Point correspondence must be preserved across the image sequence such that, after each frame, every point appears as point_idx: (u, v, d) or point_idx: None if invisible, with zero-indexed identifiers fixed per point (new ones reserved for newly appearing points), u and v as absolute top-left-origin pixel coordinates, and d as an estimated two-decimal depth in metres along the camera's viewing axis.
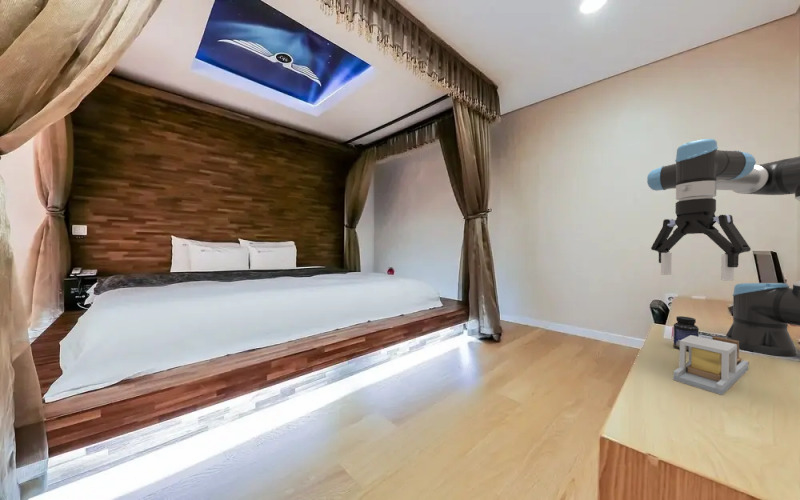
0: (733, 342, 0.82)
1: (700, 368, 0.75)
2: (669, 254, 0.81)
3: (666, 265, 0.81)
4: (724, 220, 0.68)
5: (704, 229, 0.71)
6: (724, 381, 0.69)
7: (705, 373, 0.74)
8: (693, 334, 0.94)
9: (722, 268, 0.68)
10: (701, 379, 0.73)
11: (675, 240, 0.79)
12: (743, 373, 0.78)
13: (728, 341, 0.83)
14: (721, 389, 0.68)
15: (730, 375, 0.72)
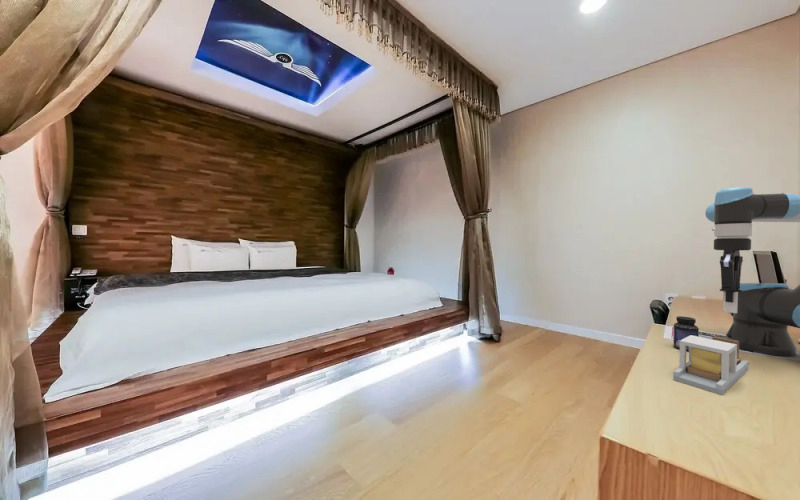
0: (733, 342, 0.82)
1: (700, 368, 0.75)
2: None
3: None
4: (721, 265, 0.85)
5: None
6: (724, 381, 0.69)
7: (705, 373, 0.74)
8: (693, 334, 0.94)
9: None
10: (701, 379, 0.73)
11: None
12: (743, 373, 0.78)
13: (728, 341, 0.83)
14: (721, 389, 0.68)
15: (730, 375, 0.72)
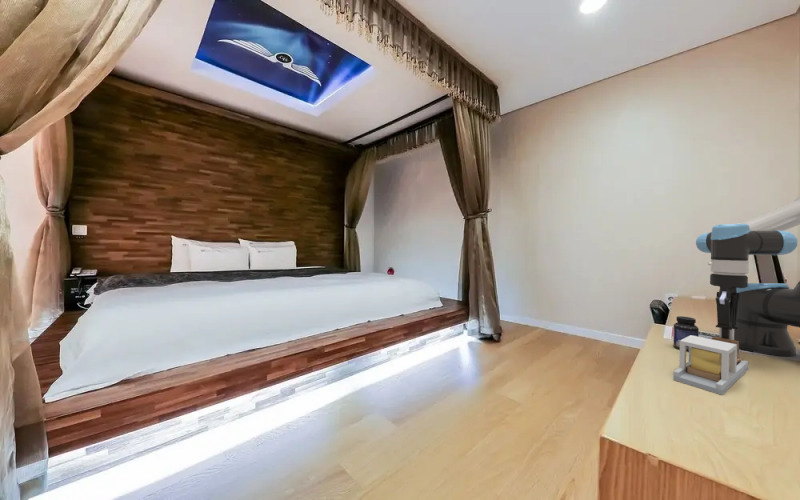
0: (733, 342, 0.82)
1: (700, 368, 0.75)
2: None
3: None
4: (716, 302, 0.84)
5: None
6: (724, 381, 0.69)
7: (705, 373, 0.73)
8: (693, 334, 0.94)
9: None
10: (701, 379, 0.73)
11: None
12: (743, 373, 0.78)
13: (728, 341, 0.83)
14: (721, 389, 0.68)
15: (730, 375, 0.72)
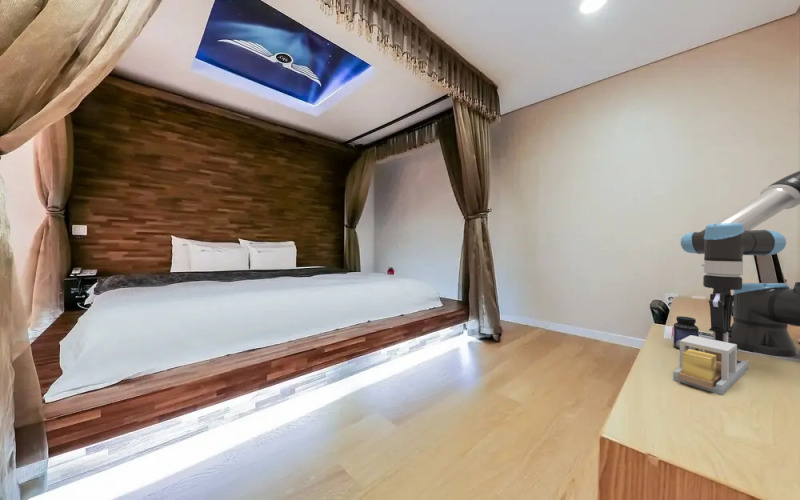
0: None
1: (691, 374, 0.72)
2: None
3: None
4: (710, 304, 0.80)
5: None
6: (724, 381, 0.69)
7: (696, 380, 0.70)
8: (693, 334, 0.94)
9: None
10: None
11: None
12: (743, 373, 0.78)
13: None
14: (721, 389, 0.68)
15: (730, 375, 0.72)
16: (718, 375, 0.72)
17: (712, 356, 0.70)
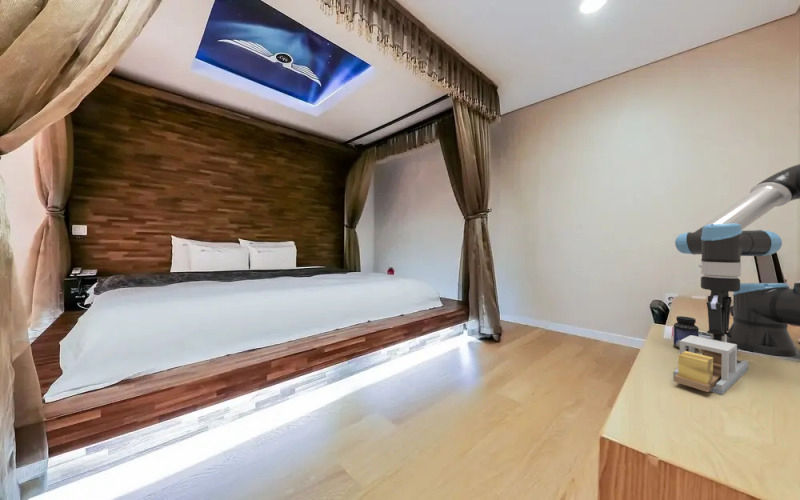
0: None
1: (687, 377, 0.70)
2: None
3: None
4: (707, 306, 0.79)
5: None
6: (724, 381, 0.69)
7: (692, 383, 0.69)
8: (693, 334, 0.94)
9: None
10: None
11: None
12: (743, 373, 0.78)
13: None
14: (721, 389, 0.68)
15: (730, 375, 0.72)
16: (715, 378, 0.70)
17: (708, 358, 0.69)
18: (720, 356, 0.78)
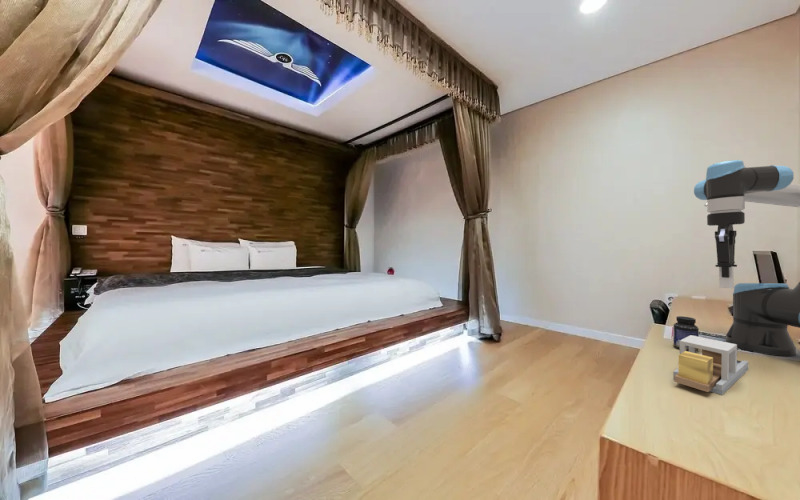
0: None
1: (687, 377, 0.70)
2: None
3: None
4: (716, 240, 0.84)
5: None
6: (724, 381, 0.69)
7: (692, 383, 0.69)
8: (693, 334, 0.94)
9: None
10: None
11: None
12: (743, 373, 0.78)
13: None
14: (721, 389, 0.68)
15: (730, 375, 0.72)
16: (715, 378, 0.70)
17: (708, 358, 0.69)
18: (720, 356, 0.78)
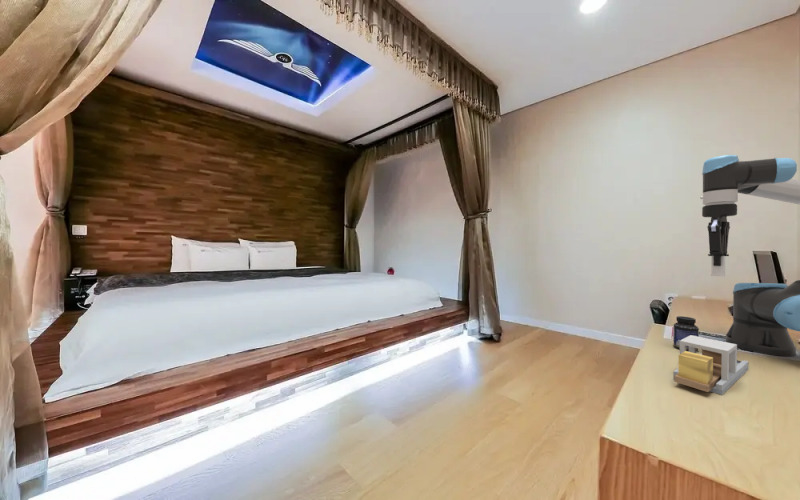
0: None
1: (687, 377, 0.70)
2: None
3: None
4: (708, 230, 0.89)
5: None
6: (724, 381, 0.69)
7: (692, 383, 0.69)
8: (693, 334, 0.94)
9: None
10: None
11: None
12: (743, 373, 0.78)
13: None
14: (721, 389, 0.68)
15: (730, 375, 0.72)
16: (715, 378, 0.70)
17: (708, 358, 0.69)
18: (720, 356, 0.78)
